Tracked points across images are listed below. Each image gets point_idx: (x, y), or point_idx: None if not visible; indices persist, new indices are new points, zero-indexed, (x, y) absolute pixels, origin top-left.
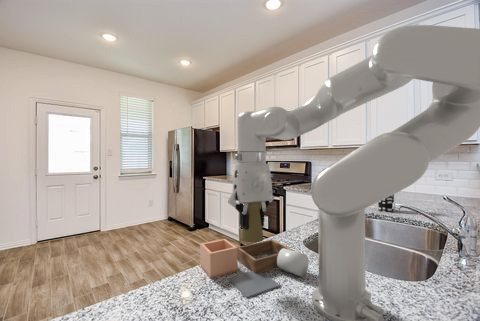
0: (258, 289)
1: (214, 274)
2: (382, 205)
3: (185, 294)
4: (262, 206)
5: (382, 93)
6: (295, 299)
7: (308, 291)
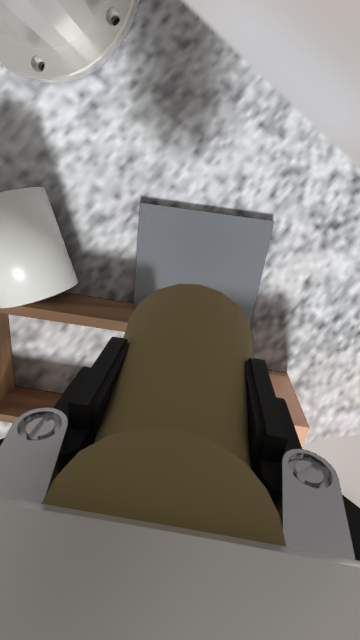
0: (216, 228)
1: (275, 376)
2: None
3: None
4: (48, 460)
5: None
6: (150, 109)
7: (78, 114)
